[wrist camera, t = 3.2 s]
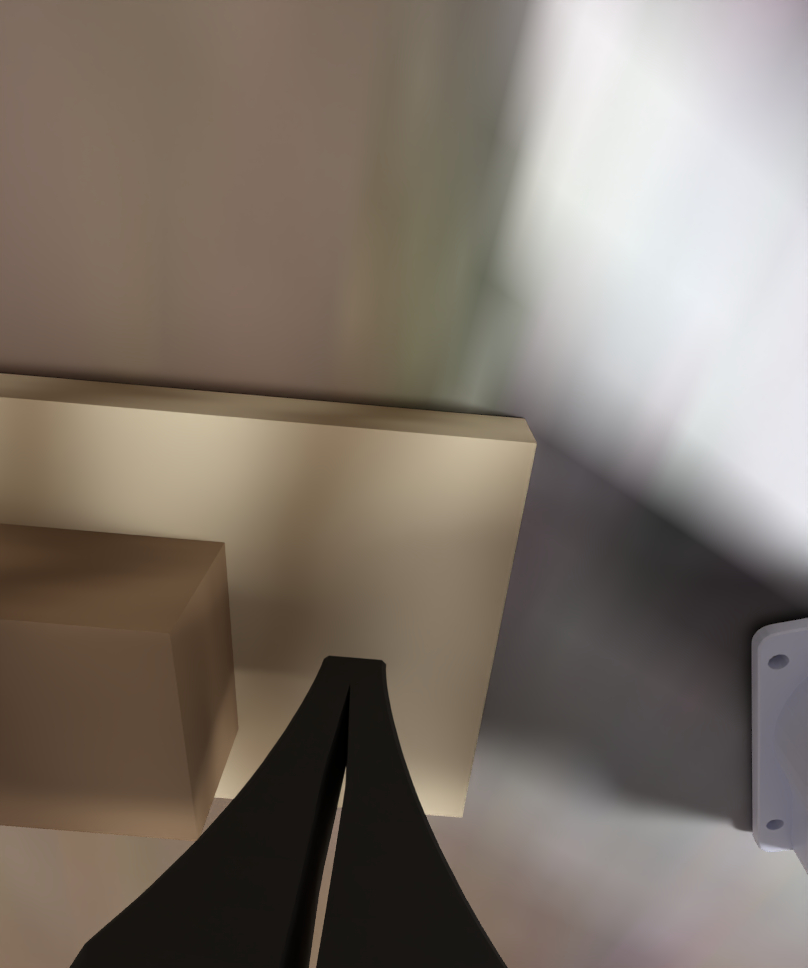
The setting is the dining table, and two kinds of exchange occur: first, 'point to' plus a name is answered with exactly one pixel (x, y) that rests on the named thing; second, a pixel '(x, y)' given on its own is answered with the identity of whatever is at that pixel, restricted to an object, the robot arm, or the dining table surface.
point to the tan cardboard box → (113, 681)
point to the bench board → (301, 539)
